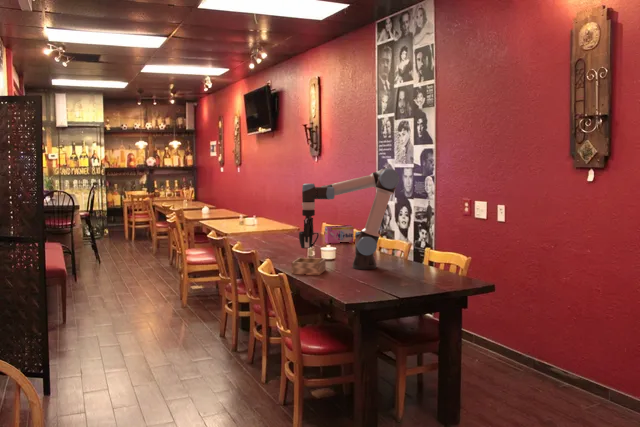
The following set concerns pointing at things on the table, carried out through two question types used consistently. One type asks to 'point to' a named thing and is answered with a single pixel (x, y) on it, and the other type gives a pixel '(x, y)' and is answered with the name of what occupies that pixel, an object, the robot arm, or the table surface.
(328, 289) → the table surface
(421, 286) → the table surface
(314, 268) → the open wooden box
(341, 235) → the gum box
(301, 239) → the mug
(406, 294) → the table surface
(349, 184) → the robot arm
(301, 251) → the table surface
